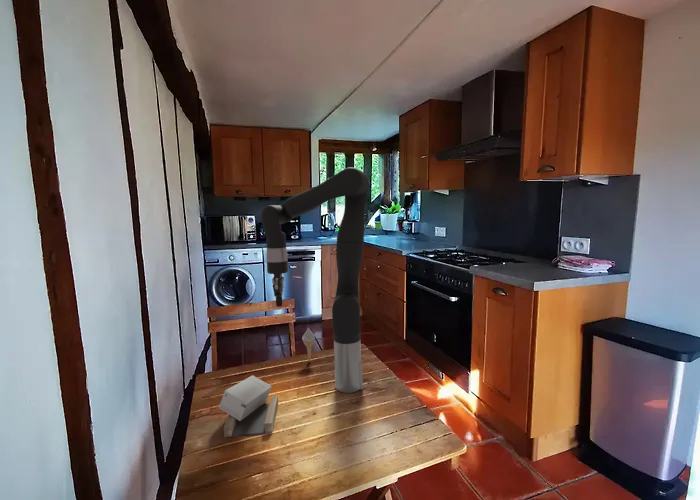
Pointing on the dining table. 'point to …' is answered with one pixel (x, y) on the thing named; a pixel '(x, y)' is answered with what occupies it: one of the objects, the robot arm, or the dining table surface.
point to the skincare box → (245, 397)
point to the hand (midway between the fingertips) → (279, 305)
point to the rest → (253, 421)
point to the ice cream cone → (308, 341)
